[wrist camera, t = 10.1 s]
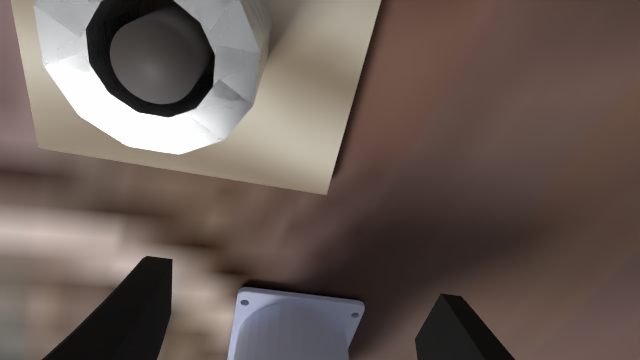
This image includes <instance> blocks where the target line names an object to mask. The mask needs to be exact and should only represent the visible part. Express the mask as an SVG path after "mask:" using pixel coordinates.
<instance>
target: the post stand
mask: <svg viewBox="0 0 640 360" xmlns="http://www.w3.org/2000/svg"><path fill="white" fill-rule="evenodd" d="M35 1H36V0H11V4H12V10H13V15H14V20H15V26H16V31H17V36H18V41H19V47H20V52H21V57H22V63H23V68H24V73H25V79H26V84H27V89H28V95H29V100H30V105H31V111H32V116H33V121H34V127H35V132H36V137H37V142H38V148H41V149H47V150H53V151H59V152H65V153H72V154H78V155H84V156H90V157H96V158H102V159H108V160H115V161H121V162H127V163H133V164H139V165H145V166H151V167H158V168H164V169H170V170H176V171H182V172H188V173H195V174H201V175H207V176H213V177H219V178H225V179H231V180H238V181H244V182H250V183H256V184H262V185H268V186H275V187H281V188H287V189H293V190H299V191H305V192H311V193H318V194H324V195H327V191H328V188H329V184H330V181H331V177H332V173H333V170H334V166H335V163H336V159H337V156H338V152H339V149H340V145H341V141H342V138H343V134H344V131H345V127H346V124H347V120H348V117H349V113H350V109H351V106H352V102H353V99H354V95H355V92H356V88H357V85H358V81H359V77H360V74H361V70H362V67H363V63H364V60H365V56H366V53H367V49H368V45H369V42H370V38H371V35H372V31H373V28H374V24H375V21H376V17H377V13H378V10H379V6H380V3H381V0H266V2H267V5H268V7H269V10H270V13H271V16H272V19H273V22H272V29H271V36H270V43H269V51H268V58H267V61H266V65H265V68H264V72H263V75H262V78H261V82H260V85H259V88H258V92H257V95H256V99H255V102H254V105H253V107H252V108H251V109H250V110H249V111H248V112H247V114H246V115H245V116H244V117H243V118H242V119H241V121H240V122H239V123H238V124H237V125H236V126H235V128H234V129H233V130H232V131H231V132H230V134H229V135H228V136H227V137H226V138H225V139H224V140H223V141H220V142H217V143H214V144H211V145H207V146H204V147H201V148H198V149H195V150H192V151H188V152H185V153H182V154H173V153H167V152H161V151H155V150H149V149H142V148H136V147H130V146H127V145H125V144H124V143H122V142H121V141H119V140H117V139H116V138H114V137H113V136H111V135H109V134H108V133H106V132H105V131H103V130H101V129H100V128H98V127H97V126H95V125H93V124H92V123H90V122H89V121H87V120H86V119H84V118H82V117H81V116H80V115H78V113H77V112H76V110H75V109H74V108H73V106H72V105H71V103H70V102H69V101H68V99H67V98H66V97H65V95H64V94H63V92H62V91H61V90H60V88H59V87H58V85H57V84H56V83H55V81H54V80H53V78H52V77H51V76H50V74H49V73H48V71H47V70H46V69H45V67H44V66H45V65H43V60H42V54H41V48H40V42H39V36H38V30H37V24H36V18H35V12H34V6H35V5H34V3H35ZM110 60H111V64H112V68H113V70H114V72H115V74H116V76H117V78H118V79H119V81H120V82H121V83H122V85H123V86H124V87H125V88H126V89H127V90H128V91H130V92H131V93H132V94H133V95H135V96H137V97H138V98H140V99H142V100H145V101H147V102H151V103H155V104H170V103H174V102H177V101H179V100H181V99H182V98H184V97H185V96H186V95H187V94H188V93H189V92H190V91H191V89H192V88H193V87H194V85H195V84H196V83H197V81H198V80H199V79H200V77H201V76H202V75H203V73H204V72H205V71H206V69H207V68H208V67H211V66H214V65H215V54H214V51H213V49H212V47H211V45H210V43H209V41H208V38H207V36H206V34H205V32H204V30H203V28H202V25H201V23H200V22H199V21H198V20H197V19H195V18H194V17H193V16H192V15H191V14H189V13H188V12H187V11H186V10H185V9H183V8H182V7H181V6H180V5H179V4H177V3H176V2H175V1H174V0H153V1H152V12H151V13H149V14H147V15H145V16H143V17H141V18H139V19H136V20H134V21H132V22H130V23H128V24H126V25H124V26H123V27H121V28H120V29H119V30H118V31H117V33H116V34H115V36H114V38H113V40H112V42H111V47H110Z"/></svg>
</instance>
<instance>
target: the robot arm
mask: <svg viewBox="0 0 640 360" xmlns="http://www.w3.org/2000/svg"><path fill="white" fill-rule="evenodd" d="M171 297H172V259H166V258H158V257H151V256H146V257H145V258H143V259H142V260H141V261H140V262H139V263H138V264H137V266H136V267H135V268H134V269H133V270H132V271H131V272H130V274H129V275H128V276H127V277H126V278H125V279H124V280H123V281H122V282H121V283H120V285H119V286H118V287H117V288H116V289H115V290H114V291H113V292H112V293H111V294H110V295H109V296H108V297H107V298H106V299H105V300H104V301H103V302H102V303H101V304H100V305H99V306H98V307H97V308H96V309H95V310H94V311H93V312H92V313H91V314H90V315H89V316H88V317H87V318H86V319H85V320H84V321H83V322H82V323H81V324H80V325H79V326H78V327H77V328H76V329H75V330H74V331H73V332H72V333H71V334H70V335H69V336H68V337H66V338H65V339H64V340H63V341H62V342H61V343H60V344H59V345H58V346H57V347H55V348H54V349H53V350H52V351H51V352H50V353H49V354H48V355H47V356H45V357H44V358H43V359H42V360H157V358H158V355H159V352H160V349H161V346H162V342H163V339H164V336H165V332H166V329H167V325H168V322H169V319H170V315H171ZM364 311H365V307H364V303H363V302H362V301H358V300H350V299H342V298H334V297H326V296H317V295H309V294H301V293H292V292H284V291H276V290H268V289H259V288H251V287H243V288H241V289H239V291H238V295H237V302H236V308H235V314H234V321H233V327H232V333H231V340H230V346H229V352H228V359H227V360H349V355H348V348H349V346H350V343H351V341H352V339H353V336H354V334H355V332H356V329H357V327H358V325H359V322H360V320H361V318H362V315H363V313H364ZM415 343H416V350H417V358H418V360H515V359H514V358H513V357H512V356H511V354H510V353H509V352H508V351H507V350H506V349H505V347H504V346H503V345H502V344H501V343H500V341H499V340H498V339H497V338H496V337H495V335H494V334H493V333H492V332H491V331H490V329H489V328H488V327H487V326H486V325H485V323H484V322H483V321H482V320H481V319H480V318H479V316H478V315H477V314H476V313H475V312H474V310H473V309H472V308H471V307H470V306H469V305H468V303H467V302H466V301H465V300H464V299H463V298H462V297H461V296H455V295H447V294H440V296H439V298H438V299H437V301H436V303H435V305H434V307H433V308H432V310H431V312H430V314H429V315H428V317H427V319H426V321H425V322H424V324H423V326H422V328H421V329H420V331H419V333H418V335H417V336H416V338H415Z"/></svg>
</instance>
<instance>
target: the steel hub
mask: <svg viewBox="0 0 640 360" xmlns="http://www.w3.org/2000/svg"><path fill="white" fill-rule="evenodd" d="M152 1H153V0H36V1H35V3H34V5H35V6H34V12H35V18H36V24H37V30H38V36H39V42H40V48H41V54H42V60H43V65H45V66H44V67H45V69H46V70H47V71H48V73H49V74H50V76H51V77H52V78H53V80H54V81H55V83H56V84H57V85H58V87H59V88H60V90H61V91H62V92H63V94H64V95H65V97H66V98H67V99H68V101H69V102H70V103H71V105H72V106H73V108H74V109H75V110H76V112H77V113H78V115H80V116H81V117H82V118H84V119H86V120H87V121H89V122H90V123H92V124H93V125H95V126H97V127H98V128H100V129H101V130H103V131H105V132H106V133H108V134H109V135H111V136H113V137H114V138H116V139H117V140H119V141H121V142H122V143H124V144H125V145H127V146H130V147H136V148H142V149H149V150H155V151H161V152H167V153H173V154H182V153H185V152H188V151H192V150H195V149H198V148H201V147H204V146H207V145H211V144H214V143H217V142H220V141H223V140H224V139H225V138H226V137H227V136H228V135H229V134H230V132H231V131H232V130H233V129H234V128H235V126H236V125H237V124H238V123H239V122H240V121H241V119H242V118H243V117H244V116H245V115H246V114H247V112H248V111H249V110H250V109H251V108H252V107H253V105H254V102H255V99H256V95H257V92H258V88H259V85H260V82H261V78H262V75H263V72H264V68H265V65H266V61H267V58H268V51H269V43H270V36H271V29H272V22H273V19H272V16H271V13H270V10H269V7H268V5H267V2H266V0H174V1H175V2H176V3H177V4H179V5H180V6H181V7H182V8H183V9H185V10H186V11H187V12H188V13H189V14H191V15H192V16H193V17H194V18H195V19H197V20H198V21H199V22H200V23H201V25H202V28H203V30H204V32H205V34H206V36H207V38H208V41H209V43H210V45H211V47H212V49H213V51H214V54H215V65H214V66H211V67H208V68H207V69H206V71H205V72H204V73H203V75H202V76H201V77H200V79H199V80H198V81H197V83H196V84H195V85H194V87H193V88H192V89H191V91H190V92H189V93H188V94H187V95H186V96H185V97H184V98H182V99H181V100H179V101H177V102H174V103H170V104H155V103H151V102H147V101H145V100H142V99H140V98H138V97H137V96H135V95H133V94H132V93H131V92H130V91H128V90H127V89H126V88H125V87H124V86H123V85H122V83H121V82H120V81H119V79H118V78H117V76H116V74H115V72H114V70H113V68H112V64H111V60H110V47H111V42H112V40H113V38H114V36H115V34H116V33H117V31H118V30H119V29H120V28H121V27H123V26H124V25H126V24H128V23H130V22H132V21H134V20H136V19H139V18H141V17H143V16H145V15H147V14H149V13H151V12H152Z"/></svg>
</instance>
